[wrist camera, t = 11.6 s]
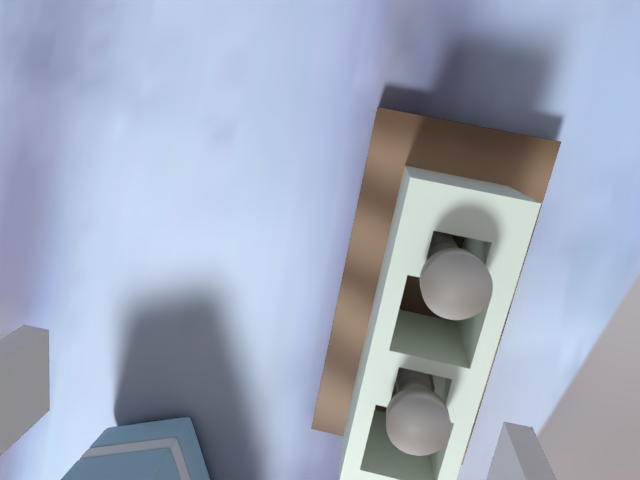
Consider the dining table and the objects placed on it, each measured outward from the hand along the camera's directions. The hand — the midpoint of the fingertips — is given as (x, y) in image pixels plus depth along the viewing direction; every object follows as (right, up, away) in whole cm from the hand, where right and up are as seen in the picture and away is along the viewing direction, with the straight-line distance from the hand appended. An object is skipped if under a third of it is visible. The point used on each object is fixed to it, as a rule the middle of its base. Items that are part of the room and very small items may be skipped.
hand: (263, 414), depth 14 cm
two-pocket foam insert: (+9, -1, +22) cm, 23 cm away
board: (+9, +1, +23) cm, 25 cm away
